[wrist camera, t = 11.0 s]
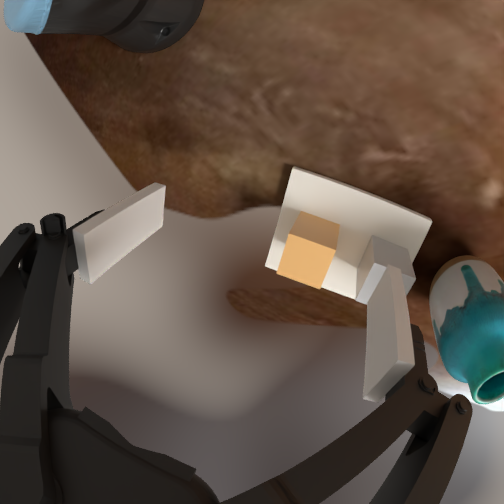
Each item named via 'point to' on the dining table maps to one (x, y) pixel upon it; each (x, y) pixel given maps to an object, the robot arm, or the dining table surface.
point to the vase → (470, 325)
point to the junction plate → (353, 232)
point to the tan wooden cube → (309, 249)
